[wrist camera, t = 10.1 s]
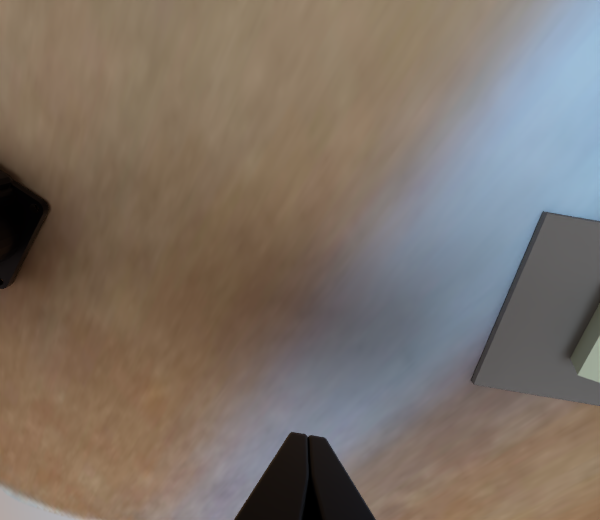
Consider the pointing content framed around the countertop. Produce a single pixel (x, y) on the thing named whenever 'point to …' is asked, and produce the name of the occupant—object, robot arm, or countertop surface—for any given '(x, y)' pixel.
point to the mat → (547, 314)
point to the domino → (589, 350)
